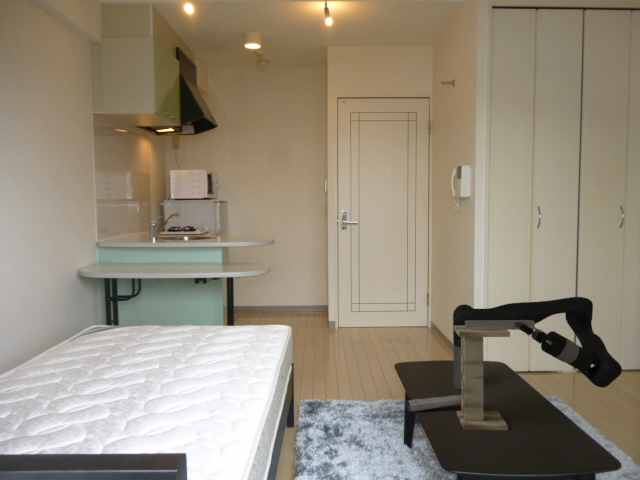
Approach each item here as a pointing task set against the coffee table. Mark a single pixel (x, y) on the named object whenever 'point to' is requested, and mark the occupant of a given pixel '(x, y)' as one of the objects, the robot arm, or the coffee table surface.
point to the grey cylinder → (432, 403)
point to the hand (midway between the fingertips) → (516, 323)
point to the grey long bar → (497, 324)
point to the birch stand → (476, 381)
